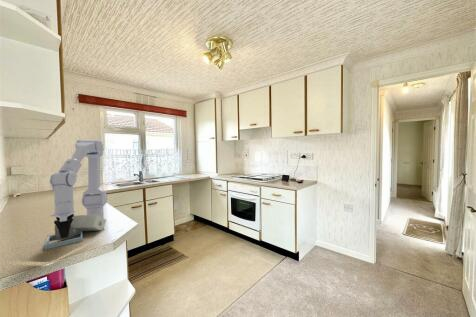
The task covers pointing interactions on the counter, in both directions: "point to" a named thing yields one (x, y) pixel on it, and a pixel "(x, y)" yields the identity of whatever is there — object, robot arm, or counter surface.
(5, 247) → the counter surface
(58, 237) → the dark grey block
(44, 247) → the tray
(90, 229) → the small box
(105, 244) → the counter surface
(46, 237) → the stake board
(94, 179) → the robot arm
